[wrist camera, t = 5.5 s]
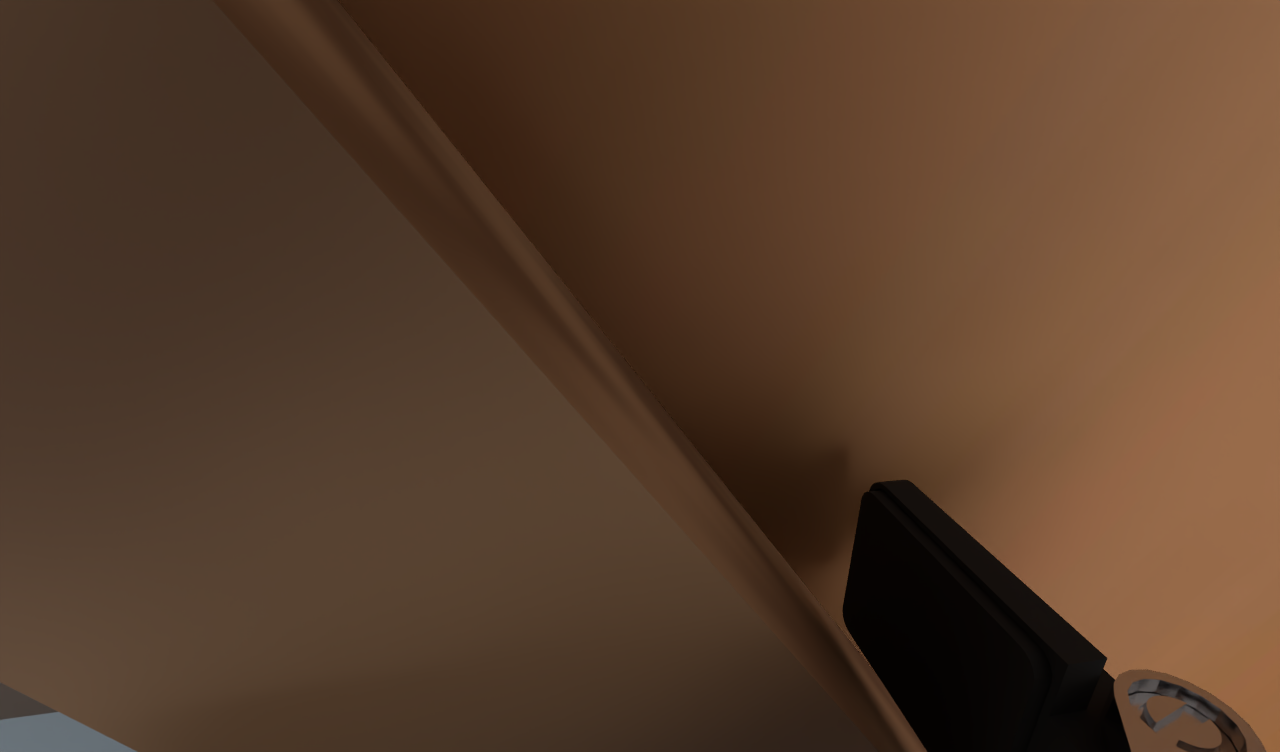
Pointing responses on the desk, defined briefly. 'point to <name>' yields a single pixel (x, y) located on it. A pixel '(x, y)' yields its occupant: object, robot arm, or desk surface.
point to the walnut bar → (345, 431)
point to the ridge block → (45, 728)
